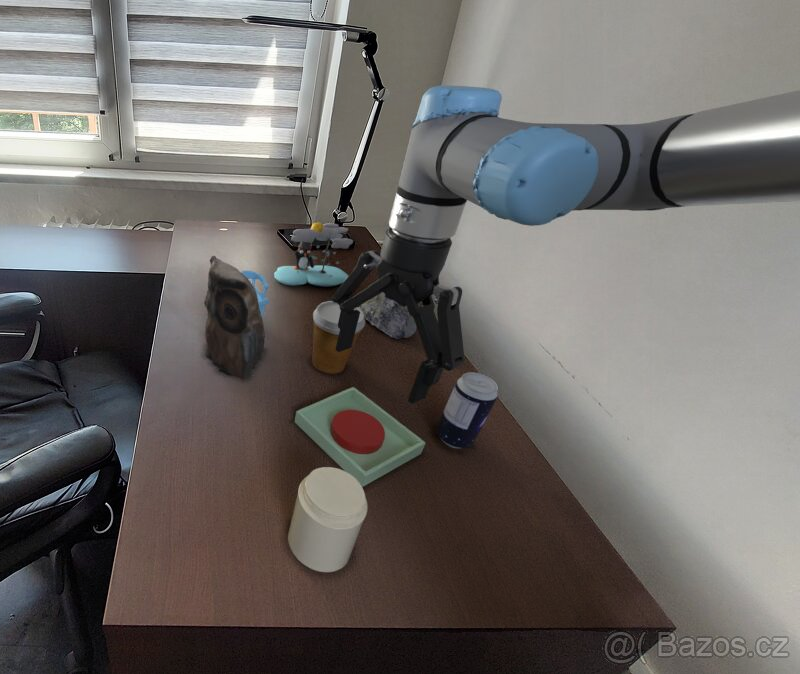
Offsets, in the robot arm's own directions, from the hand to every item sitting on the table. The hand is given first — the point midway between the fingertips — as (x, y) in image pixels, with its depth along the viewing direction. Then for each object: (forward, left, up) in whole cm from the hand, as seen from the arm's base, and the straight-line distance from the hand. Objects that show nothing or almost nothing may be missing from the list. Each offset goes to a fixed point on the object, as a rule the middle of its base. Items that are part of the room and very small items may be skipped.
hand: (377, 372), depth 67 cm
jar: (-11, +18, -14) cm, 25 cm away
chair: (+37, -4, -14) cm, 40 cm away
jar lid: (0, 0, -12) cm, 12 cm away
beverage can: (-8, -14, -14) cm, 21 cm away
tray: (0, 0, -14) cm, 14 cm away
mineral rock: (+22, -32, -14) cm, 41 cm away
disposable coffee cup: (+17, -10, -14) cm, 24 cm away
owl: (+27, +5, -14) cm, 31 cm away
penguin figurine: (+47, -32, -14) cm, 59 cm away
